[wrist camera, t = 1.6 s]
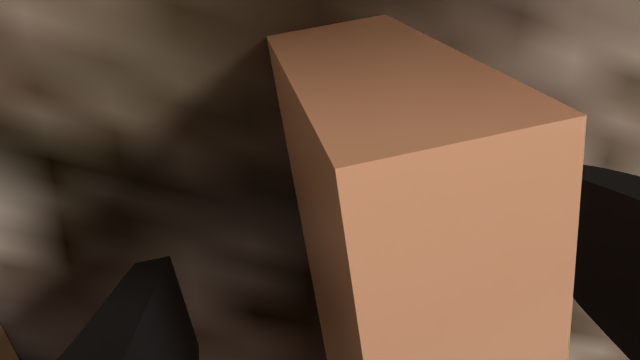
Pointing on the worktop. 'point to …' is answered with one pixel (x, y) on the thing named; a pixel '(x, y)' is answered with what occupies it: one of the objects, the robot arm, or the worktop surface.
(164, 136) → the worktop surface
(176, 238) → the worktop surface
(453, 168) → the tile
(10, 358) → the rack
